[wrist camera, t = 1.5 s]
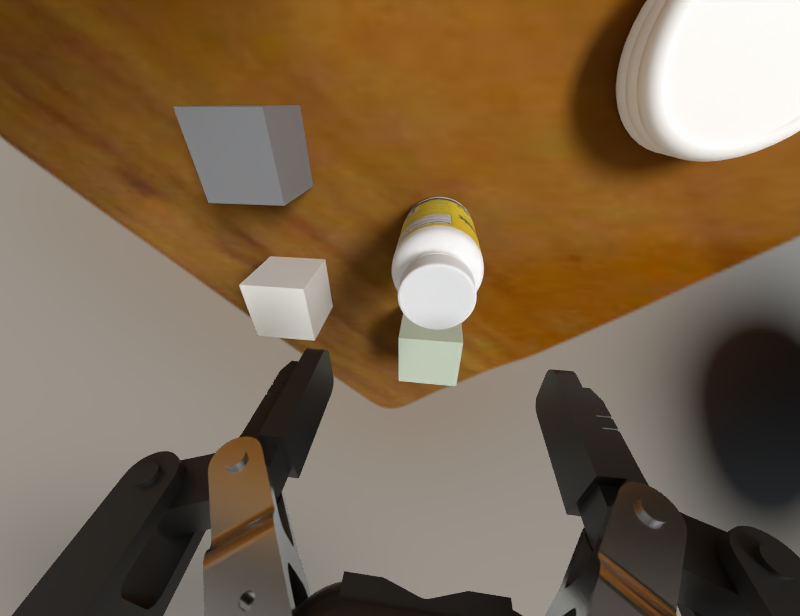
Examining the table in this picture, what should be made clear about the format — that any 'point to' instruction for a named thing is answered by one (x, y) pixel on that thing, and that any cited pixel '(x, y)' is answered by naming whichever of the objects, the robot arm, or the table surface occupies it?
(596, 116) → the table surface
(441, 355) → the sage block
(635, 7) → the table surface
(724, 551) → the robot arm
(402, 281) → the supplement bottle
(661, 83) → the coaster
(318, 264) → the pale grey block
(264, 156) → the medium grey block
